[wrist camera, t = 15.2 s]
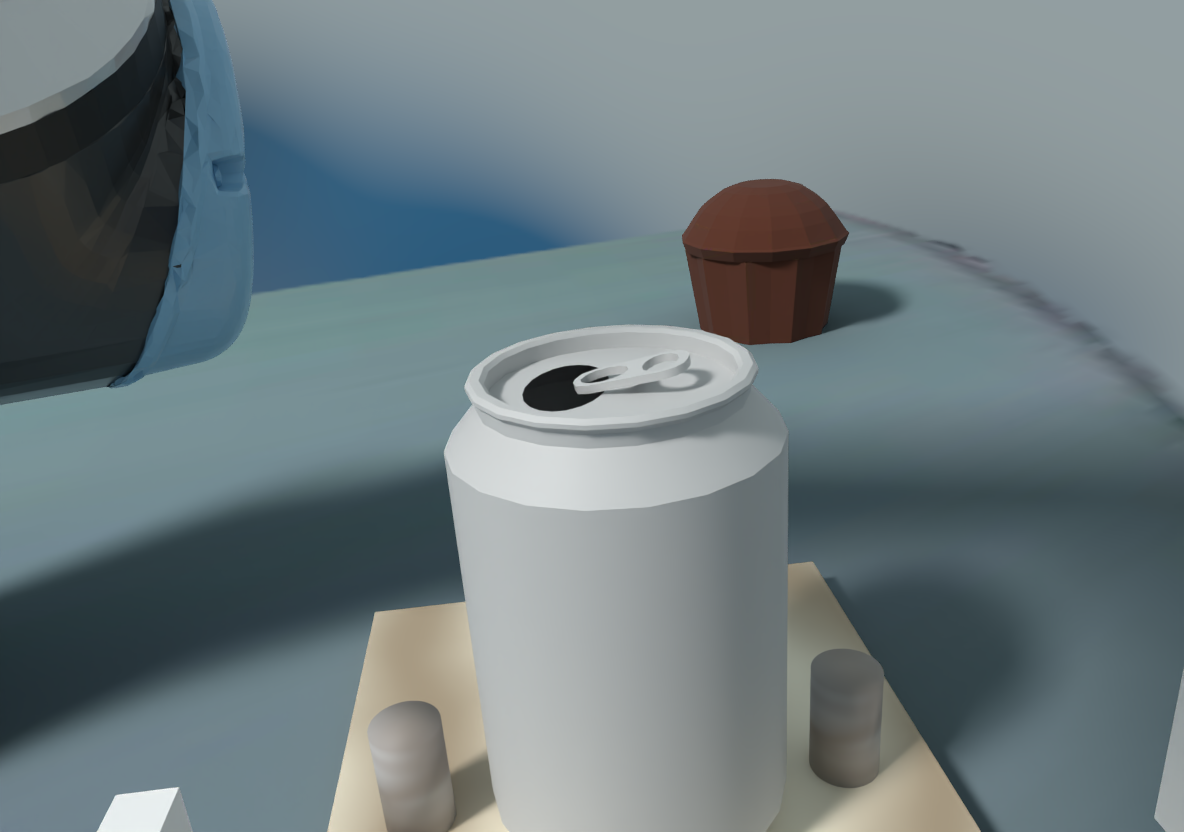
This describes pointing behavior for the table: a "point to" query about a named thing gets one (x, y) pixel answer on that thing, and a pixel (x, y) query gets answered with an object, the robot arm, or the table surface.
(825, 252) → the muffin
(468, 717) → the pin base
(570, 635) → the can
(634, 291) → the table surface
